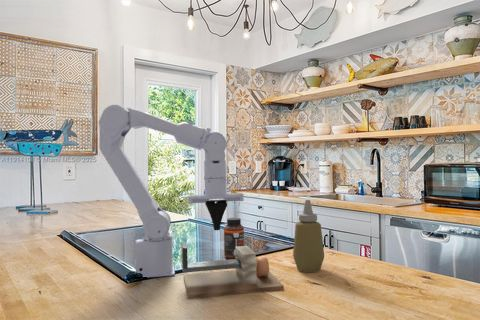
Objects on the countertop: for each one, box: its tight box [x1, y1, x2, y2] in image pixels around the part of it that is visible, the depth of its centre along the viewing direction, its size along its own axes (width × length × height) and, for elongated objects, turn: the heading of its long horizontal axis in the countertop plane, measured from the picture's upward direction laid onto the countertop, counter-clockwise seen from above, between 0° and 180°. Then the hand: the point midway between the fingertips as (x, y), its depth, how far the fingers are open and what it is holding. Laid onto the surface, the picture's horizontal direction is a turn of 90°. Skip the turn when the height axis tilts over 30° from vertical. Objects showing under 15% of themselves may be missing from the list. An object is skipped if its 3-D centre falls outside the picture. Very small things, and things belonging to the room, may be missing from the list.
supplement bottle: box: [223, 217, 245, 259], centre depth 110 cm, size 6×6×11 cm
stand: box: [183, 245, 285, 299], centre depth 87 cm, size 21×14×8 cm, turn 102°
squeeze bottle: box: [292, 199, 325, 273], centre depth 96 cm, size 8×8×18 cm
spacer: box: [256, 256, 270, 277], centre depth 89 cm, size 4×4×2 cm
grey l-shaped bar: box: [180, 242, 241, 273], centre depth 86 cm, size 15×5×6 cm, turn 102°
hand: (216, 229), depth 98 cm, fingers closed
